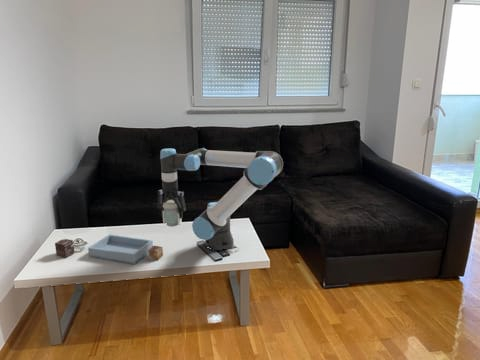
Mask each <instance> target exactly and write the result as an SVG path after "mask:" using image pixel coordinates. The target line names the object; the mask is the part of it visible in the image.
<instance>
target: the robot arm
mask: <svg viewBox="0 0 480 360" xmlns="http://www.w3.org/2000/svg"><path fill="white" fill-rule="evenodd" d="M159 160H160V166H161V180H162V181H161V186H162V187H161V188H162V189H159V190H157V192H156V194H157V203H156V205H157V206H156V208H157V210H160V213H161V217H162V222H163V223H162V224H167V223H166V218H165V213H164V207H163V204H164V202H167V201H168V200H169V199H170V200H173V201H174V202H175V204H177V209H178V211H179V212H178V213H177V216H178V225H177V226H180V225H181V224H182V223H183V221H182V219H183V218H184V215H183V213H184V212H186V211H187V207H186V201H185V196H184V194H185V192H184V191H179V185H178V184H179V183H178V170H180V171H189V172H192V171H197V170H198V169H199V168H200V166H202V165H203V166H215V167H216V166H217V167H218V166H219V167H229V168H242V169H244V170H243V176H242V177H241V178H240V179H239V180H238V181H237V182H236V183H235V184H234V185H233V186H232V187H231V188H230V189H229V190H228V191H227V192H226V193H225V194H224V195H223V196H222V197H221V198H220V199H219V200H218V201H214V202H212V201H211V202H209V203H207V207H206V209H205V210H204V211H203V212H202V213H201V214H200V215H199V216H198V217H196V218H195V219H194V220H193V221H192V226H191V227H192V231H193V234H194V235H195V236H196V237H197V238H198V239H200V240H203V241H205V242H204V245H205V244H206V246H207V247H209V248H211V249H214V250H213V251H218V250H219V251H222V250H221V249H227V250H229V249H231V248H232V247H233V246H234V243H235V242H234V237H233V234H232V232H231V216H232V214H233V213H234V212H235V211H236V210H237V209H238V208H239V207H241V205H243V204H244V203H245V202H246V201H247V199H248V198H250V197H251V196H252V195H253V194H254V193H255V192H257V190H260V191H261V190H263V189H264V188H265V187H267V185H268V184H269V183H271V182H272V181H273V180H274V178H275V177H278V175H279V174H281V172H282V170H283V167H284V161H283V160H284V159H283V158H282V156H281V155H280V154H279V153H277V152H276V151H271V150H257V151H255V152H247V151H246V152H245V151H230V150H229V151H228V150H212V149H210V150H209V149H206V148H205V147H202V148H197V149H195V150H193V151H190V152H188V153H177V151H176V149H175V148H171V147H170V148H162V149H161V150H160V158H159ZM163 195H164V196H163ZM178 196H179V197H178ZM206 246H205V247H206ZM207 247H206V248H207ZM211 249H210V250H211Z"/></svg>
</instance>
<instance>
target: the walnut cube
mask: <svg viewBox="0 0 480 360" xmlns="http://www.w3.org/2000/svg"><path fill="white" fill-rule="evenodd" d="M148 252H149V253H148V259H149V260H154V261H159V260H160V259H161V258H163V256H164V249H163V246H159V245H153V246H152V247H151V248H150V249H149V250H148Z"/></svg>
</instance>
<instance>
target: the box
mask: <svg viewBox="0 0 480 360" xmlns="http://www.w3.org/2000/svg"><path fill="white" fill-rule="evenodd" d="M54 245H55V246H54V247H55V255H56V257H58V258H64V259H68V257H71V256H72V255H74V254H75V248H74V241H73V240H72V239H67V238H63V239H61V240H58V241H56V242H55V243H54Z"/></svg>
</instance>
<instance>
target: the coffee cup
mask: <svg viewBox="0 0 480 360" xmlns="http://www.w3.org/2000/svg"><path fill="white" fill-rule="evenodd" d="M163 207H164V213H165V218H166V223H165V224H166V226H168V227H172V228H174V227H177V226H179V225H178V216H177V213H178V212H179V211H178V209H177V204H175V202H174V201H173V199H168V201H167V202H164V204H163Z"/></svg>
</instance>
